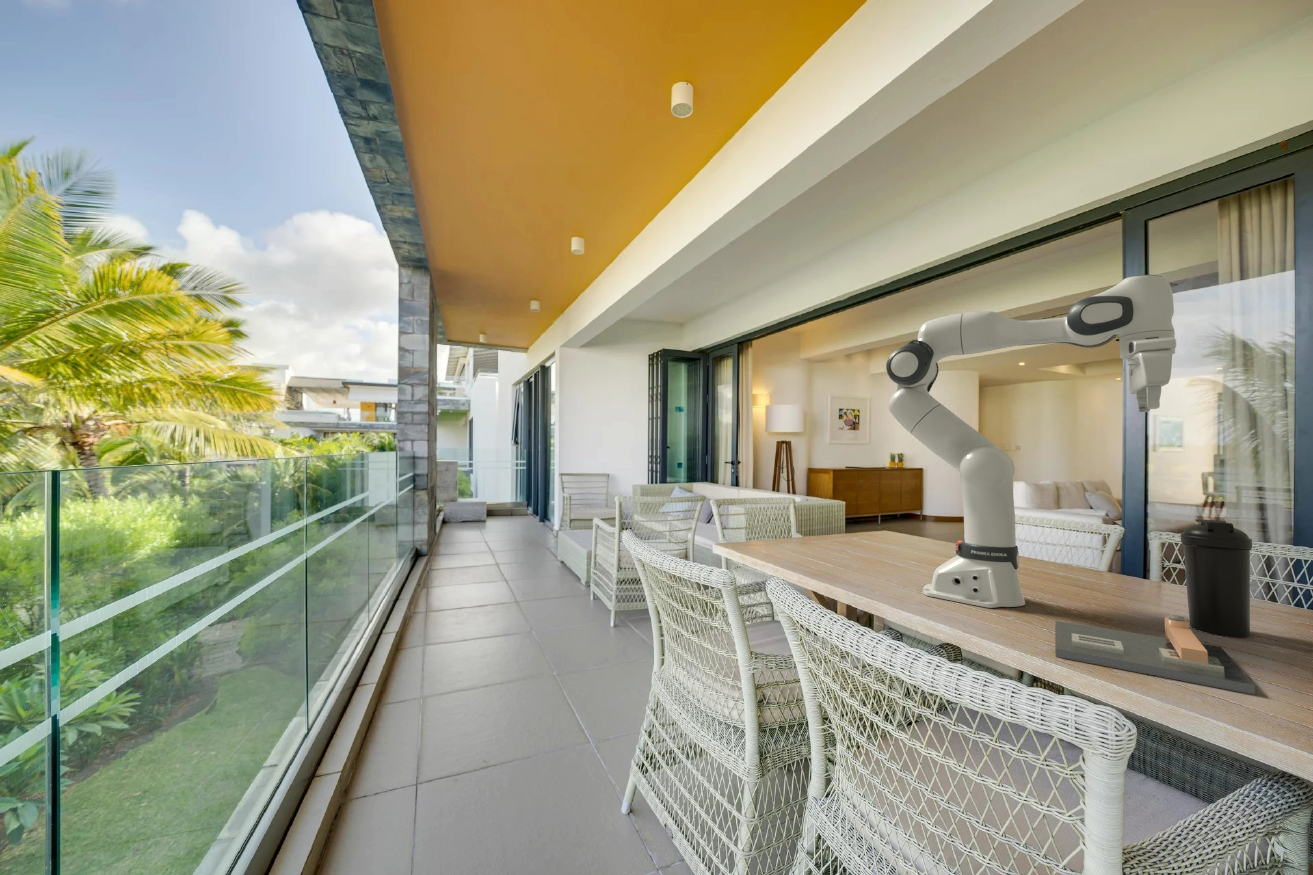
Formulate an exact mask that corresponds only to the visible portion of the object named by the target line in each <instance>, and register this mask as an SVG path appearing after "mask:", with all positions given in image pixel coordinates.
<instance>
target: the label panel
mask: <svg viewBox="0 0 1313 875" xmlns="http://www.w3.org/2000/svg"><path fill="white" fill-rule="evenodd" d="M1054 624H1055V626H1054V628H1055V635H1054V636H1055V638H1054V639H1055V640H1054V642H1055V645H1054V647H1055V648H1054V649H1055V657H1056V658H1061V659H1066V660H1071V661H1077V662H1079V663H1080V662H1082V663H1085V664H1087V663H1088V664H1091V665H1096V666H1097V665H1098V666H1102V667H1106V668H1113V669H1118V670H1123V671H1128V672H1133V673H1139V674H1143V673H1144V675H1148V674H1149V676H1153V675H1156V676H1155V677H1159V678H1164V679H1169V680H1176V681H1179V680H1181V681H1180V682H1184V683H1190V682H1191V684H1194V685H1202V686H1206V687H1211V688H1216V689H1217V688H1218V689H1221V688H1222V689H1221V690H1226V691H1232V692H1238V693H1243V694H1248V695H1253V696H1255V695H1256V694H1255V692H1256V691H1255V690H1256V689H1255V684H1254V683H1253V682H1252V680H1251V679H1250V678H1249V677H1248V676H1247V675H1246V674H1245V672H1244V671H1243V670H1242V669H1241V668H1240V667H1239V666H1238V664H1236V663H1235V661H1234V660H1233V659H1232V658H1231V656H1229V654H1228V653H1227V651H1225V650H1224V649H1223V647H1222V646H1220V645H1219V646H1217V645H1212V644H1205V643H1201V644H1202V645H1203V647H1204V648H1205V649H1206V650H1207V652H1208V664H1204V663H1199V662H1193V661H1187V660H1182V659H1181V658H1180V656H1179V655H1178V653H1177V651H1176V650H1175V648H1174V646H1173V645H1172V643H1169V642H1167V641H1166V639H1165V637H1161V636H1156V635H1148V634H1142V633H1138V632H1137V633H1134V632H1129V631H1122V630H1118V629H1117V630H1116V629H1112V628H1111V629H1110V628H1105V627H1099V626H1098V627H1097V626H1092V625H1085V624H1078V623H1073V622H1066V621H1065V622H1064V621H1059V620H1055V623H1054Z"/></svg>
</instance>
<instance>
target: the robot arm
mask: <svg viewBox="0 0 1313 875" xmlns="http://www.w3.org/2000/svg"><path fill="white" fill-rule="evenodd" d="M1174 307H1175V306H1174V296H1173V289H1172V286H1171V284H1170V281H1169V280H1168V279H1167V278H1165V277H1164V276H1161V275H1157V274H1137V275H1135V276H1128V277H1125V278H1123V280H1121V281H1120V282H1119V283H1118V284H1116V285H1114V286H1112V287H1110V288H1109V289H1107V290H1105V291H1102V292H1100V293H1097V294H1095V295H1092V296H1089V297H1085V298H1082V299H1081V300H1078V301H1077V302H1076V303H1075V304H1073V305H1072V306H1071V307H1070V309H1069V311H1068V313H1067V316H1063V317H1053V318H1044V319H1042V318H1041V319H1035V320H1034V319H1033V320H1032V319H1031V320H1020V319H1019V320H1018V319H1015V318H1011V317H1007V316H1005V315H1003V314H1000V313H999V312H997V311H991V310H989V311H988V310H982V311H980V310H976V311H975V310H974V311H967V312H961V313H954V314H949V315H945V316H941V317H937V318H934V319H930V320H927V321H926V322H924V323H923V324H922V325H921V326H920V328H919V330H918V333H917V339H912V340H911V341H909V342H908V343H906V344H904V345H903V346H901V347H899V348H897V349H896V350H894V351H893V352H892V353H891V354H890V355H889V357H888V358H887V360H886V365H885V368H886V369H885V370H886V373H887V376H888V377H889V379H890V380H891V381H892V382H894V383H895V384H896V385H897V388H896V391H895V392H894V393H893V395H892V396H890V399H889V401H888V410H889V412H890V413H891V415H892V416H893V417H894V419H896V421H897V422H898V423H899V424H900V425H901V426H902V427H903V428H904V429H905V430H906V431H907V432H908V433H910V435H912V436H913V437H914V438H915V439H916V440H918V441H919V442H920V443H922V445H924V446H925V447H926V448H928V449H929V450H930V451H931V452H932V453H933V454H935V455H936V456H937V457H939V458H940V459H942V460H944V461H945V462H946V463H947V464H949V465H950V466H952V467H953V468H954V469H956V470H957V471H958V472H959V478H960V489H961V490H960V492H961V499H962V508H963V509H962V510H963V527H964V528H963V529H964V530H963V531H964V532H963V533H964V534H963V537H964V538H963V539H964V540H958V541H957V542H956V543H955V554H956V555H955V556H954V557H952V558H950V559H948V560H946V561H945V562H943V563H942V564H940V565H939V566H937V567H936V569H934V571H933V575H932V580H931V582H930V583H927V584H925V585H924V586H923V588H922V593H923V594H924V595H925V596H928V597H932V598H936V599H941V600H948V601H952V602H958V603H963V604H967V605H973V606H978V607H982V608H987V609H988V608H989V609H991V608H1001V607H1003V608H1004V607H1005V608H1012V607H1013V608H1015V607H1022V606H1025V605H1026V601H1025V599H1024V598H1025V597H1024V595H1023V591H1022V588H1021V584H1020V579H1019V577H1020V576H1019V571H1018V570H1019V566H1020V553H1019V548H1018V545H1016V541H1017V540H1016V513H1015V502H1014V499H1015V498H1014V486H1013V483H1014V481H1013V480H1014V479H1013V478H1014V475H1015V473H1016V472H1015V471H1016V470H1015V468H1016V467H1015V463H1014V460H1013V459H1012V458H1011V456H1010V455H1009V454H1008V453H1007V452H1005V451H1004V450H1002V449H1001V448H1000V447H999V446H998V445H996V444H994V443H993V442H992V441H991V440H989V439H988V438H987V437H985V436H984V435H983V434H981V432H978V430H976V429H974V428H973V427H972V426H971V425H969V424H968V423H966V422H965V421H964V420H962V418H960V417H959V416H957V415H956V414H955V413H954V412H952V411H951V410H950V409H949V408H947V406H944V404H942V403H941V402H939V401H938V400H937V399H935V398H934V397H933V396H932V395H931V394H930V393H929V392H930V391H931V389H932V388H933V385H934V384H935V381H936V380H937V377H938V375H939V370H940V369H939V364H938V362H939V361H940V360H942V359H944V358H947V357H952V356H962V355H963V356H964V355H972V354H980V353H985V352H991V351H996V350H1000V349H1001V350H1003V349H1006V348H1007V349H1008V348H1012V347H1018V346H1032V345H1048V344H1069V345H1073V346H1076V347H1081V348H1088V349H1090V348H1091V349H1094V348H1098V347H1102V346H1104V345H1107V344H1108V343H1110V342H1112V341H1113V340H1114V339H1115V338H1116V337H1117V336H1119V337H1118V338H1119V340H1118V341H1119V359H1121V360H1127V366H1129V368H1128V369H1129V370H1128V390H1129V393H1130V395H1135V400H1136V403H1137V411H1138V412H1139V413H1148V412H1150V411H1151V410H1155V409H1159V408H1160V400H1161V394H1162V387H1164V386H1166V385H1168V384H1169V383H1170V379H1171V375H1172V365H1173V364H1172V363H1173V355H1174V354H1175V353H1176V347H1177V340H1176V337H1175V335H1176V334H1175V333H1176V332H1175V328H1174V326H1173V323H1172V319H1173V316H1174V313H1175V308H1174Z"/></svg>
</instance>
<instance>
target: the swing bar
mask: <svg viewBox="0 0 1313 875" xmlns="http://www.w3.org/2000/svg"><path fill="white" fill-rule="evenodd" d="M1164 631H1165V632H1164V635H1165V637H1164V638H1165V639H1166V641H1167V642H1169V643H1172V645H1173V646H1174V648H1175V650H1176V651H1177V653H1178V655H1179V656H1180V658H1181V659H1182V660H1187V661H1193V662H1199V663H1204V664H1208V652H1207V650H1206V649H1205V648H1204V647H1203V645H1202V644H1203V643H1201V641H1200V640H1199V639H1198V637H1197V636H1196V635H1195V633H1194V632H1193V631H1192V630H1191V629H1190V621H1189V620H1187V619H1185V617H1184V616H1182V615H1177V614H1169V615H1168V616H1165V617H1164Z"/></svg>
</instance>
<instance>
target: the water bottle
mask: <svg viewBox="0 0 1313 875" xmlns="http://www.w3.org/2000/svg"><path fill="white" fill-rule="evenodd" d="M1194 521H1195V522H1200V524H1195V525H1191V526H1188V527H1187V528H1185V529H1184V530H1183V531H1182V532H1181V533H1180V542H1181V544H1182V546H1183V559H1184V571H1185V581H1186V593H1187V595H1186V596H1187V605H1188V618H1189V620H1188V621H1189V627H1190V626H1191V627H1192V628H1191V627H1190V628H1191V629H1193V628H1195V629H1196V631H1198V630H1200V631H1199V632H1201V631H1202V633H1205V632H1207V633H1206V634H1209V633H1210V635H1214V634H1216V635H1215V636H1219V635H1220V636H1221V637H1226V636H1228V637H1227V638H1233V639H1234V638H1236V639H1246V638H1248V639H1249V638H1250V637H1251V551H1252V549H1253V539H1252V538H1250V537H1249V535H1248V534H1247V533H1246V532H1244V531H1243V530H1241V529H1239V528H1236V527H1234V524H1233V523H1231V522H1230V523H1229V522H1227V521H1226V520H1217V519H1216V520H1213V519H1194ZM1195 629H1194V630H1195ZM1220 636H1219V637H1220Z"/></svg>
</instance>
